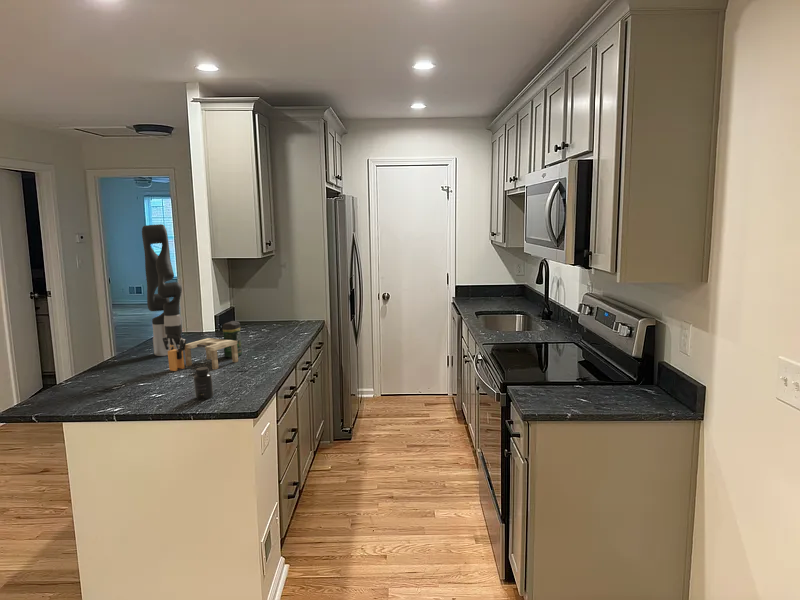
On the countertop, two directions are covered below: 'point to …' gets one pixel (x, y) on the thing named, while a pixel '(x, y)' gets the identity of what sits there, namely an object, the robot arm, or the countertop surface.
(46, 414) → the countertop surface
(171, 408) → the countertop surface
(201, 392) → the supplement bottle
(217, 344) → the cream u-shaped stand
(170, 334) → the robot arm
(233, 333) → the coffee jar
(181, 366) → the tan wooden post
